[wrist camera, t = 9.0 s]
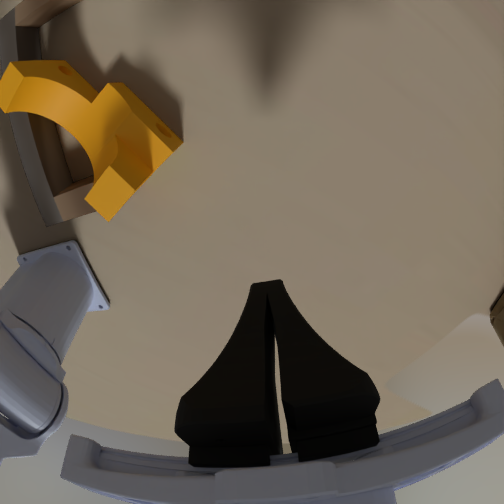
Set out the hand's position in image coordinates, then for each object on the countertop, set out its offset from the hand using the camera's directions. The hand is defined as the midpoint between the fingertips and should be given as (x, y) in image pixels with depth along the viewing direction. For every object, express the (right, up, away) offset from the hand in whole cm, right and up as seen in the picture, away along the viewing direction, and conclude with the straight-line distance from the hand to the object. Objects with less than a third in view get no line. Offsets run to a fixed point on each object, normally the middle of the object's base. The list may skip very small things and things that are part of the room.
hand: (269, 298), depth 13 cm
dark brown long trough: (-15, +14, +2) cm, 21 cm away
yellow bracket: (-11, +12, +4) cm, 17 cm away
